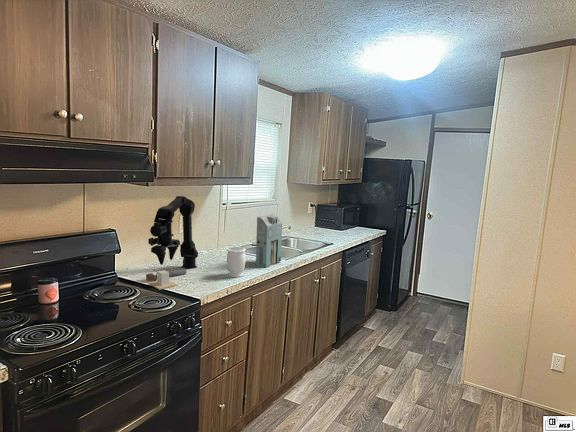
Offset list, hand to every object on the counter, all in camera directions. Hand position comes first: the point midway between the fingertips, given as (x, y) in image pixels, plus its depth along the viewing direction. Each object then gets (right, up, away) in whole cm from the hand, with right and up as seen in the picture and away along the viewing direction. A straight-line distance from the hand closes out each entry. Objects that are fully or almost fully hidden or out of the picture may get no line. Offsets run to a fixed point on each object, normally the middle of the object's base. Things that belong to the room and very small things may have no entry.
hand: (166, 262), depth 206 cm
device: (+50, -6, +43) cm, 66 cm away
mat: (-1, -11, -4) cm, 12 cm away
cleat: (-9, -10, +2) cm, 13 cm away
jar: (+34, -9, +17) cm, 39 cm away
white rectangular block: (0, -10, -4) cm, 11 cm away
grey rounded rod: (0, -9, +10) cm, 14 cm away
